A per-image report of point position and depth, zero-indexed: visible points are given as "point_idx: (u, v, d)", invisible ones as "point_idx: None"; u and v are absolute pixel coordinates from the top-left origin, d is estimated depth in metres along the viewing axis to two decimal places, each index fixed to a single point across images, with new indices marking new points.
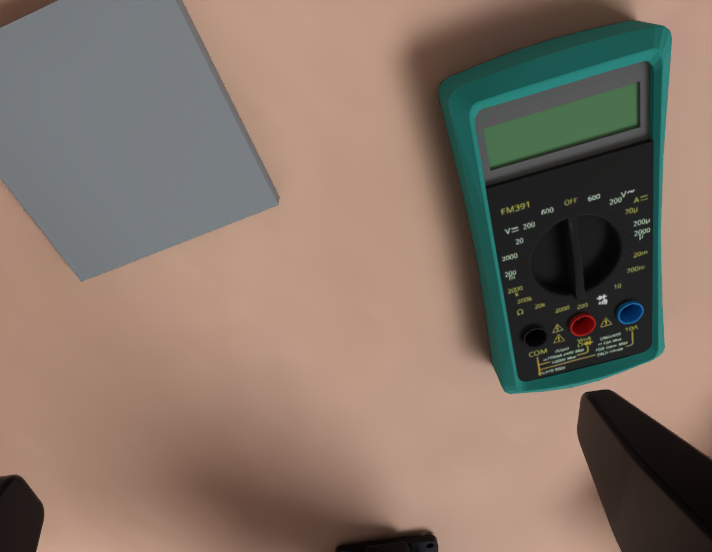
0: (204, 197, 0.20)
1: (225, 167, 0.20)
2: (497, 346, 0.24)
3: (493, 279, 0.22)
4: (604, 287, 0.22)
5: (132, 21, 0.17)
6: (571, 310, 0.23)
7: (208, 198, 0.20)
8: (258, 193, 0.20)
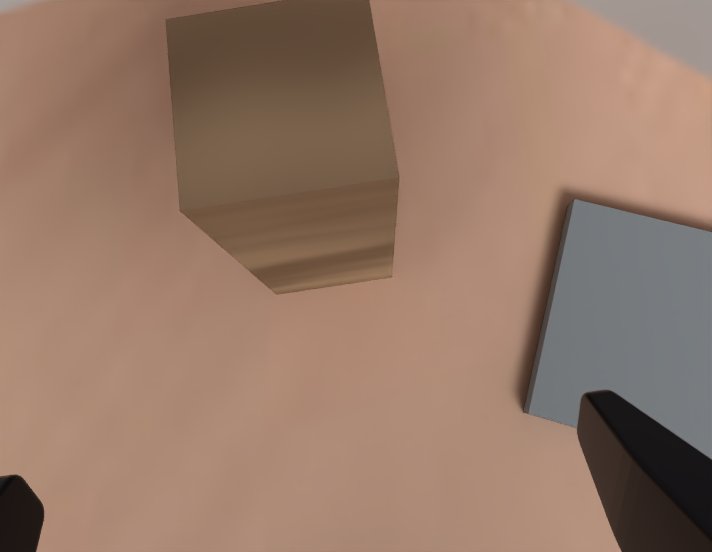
0: (708, 426, 0.20)
1: None
2: None
3: None
4: None
5: None
6: None
7: (711, 430, 0.20)
8: None
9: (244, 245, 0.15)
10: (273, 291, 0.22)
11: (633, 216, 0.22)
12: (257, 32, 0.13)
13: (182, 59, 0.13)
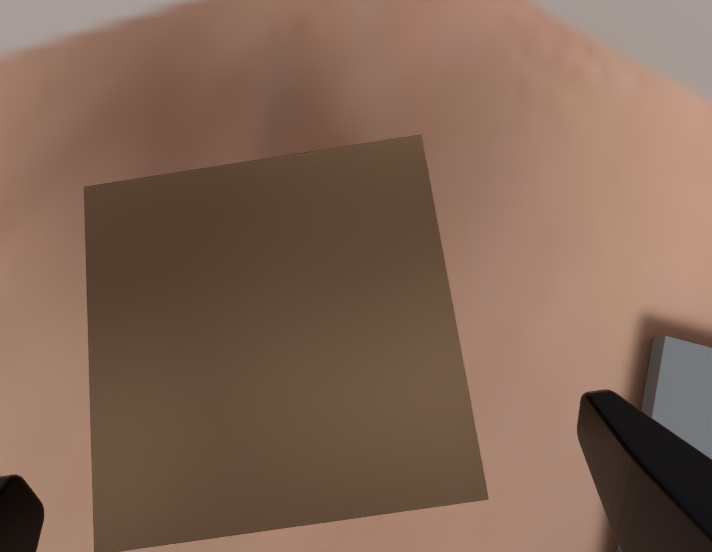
0: None
1: None
2: None
3: None
4: None
5: None
6: None
7: None
8: None
9: None
10: None
11: None
12: (237, 213, 0.08)
13: (109, 260, 0.07)
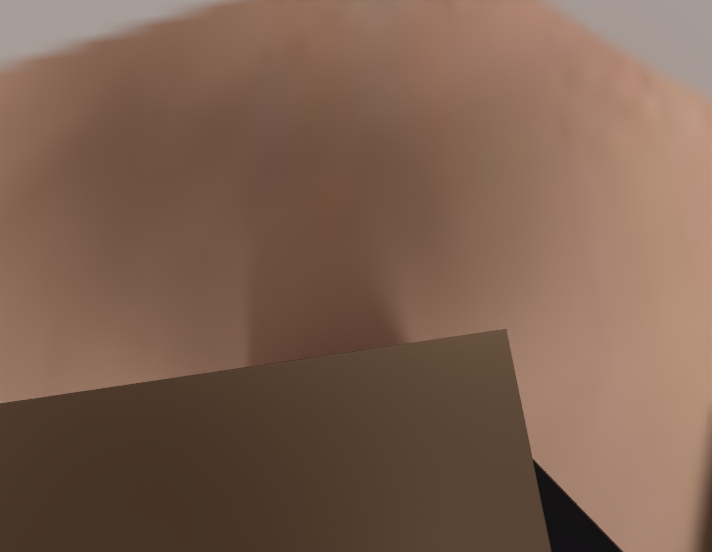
0: None
1: None
2: None
3: None
4: None
5: None
6: None
7: None
8: None
9: None
10: None
11: None
12: (180, 473, 0.04)
13: None
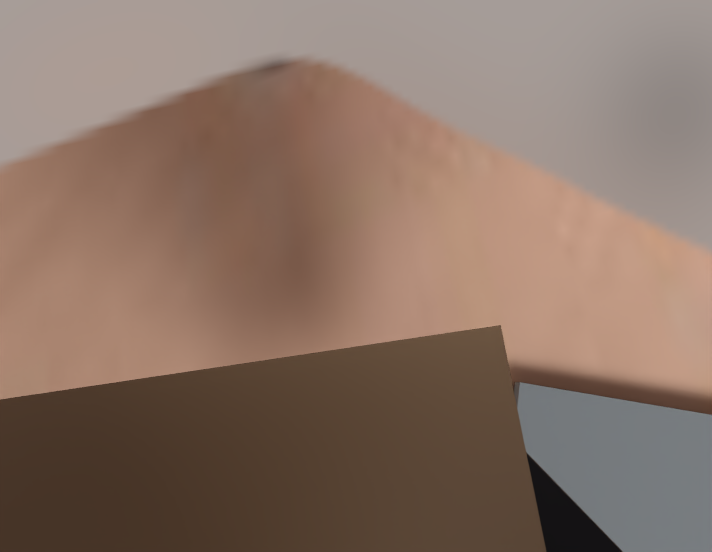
0: None
1: None
2: None
3: None
4: None
5: None
6: None
7: None
8: None
9: None
10: None
11: (583, 397, 0.20)
12: (176, 469, 0.04)
13: None
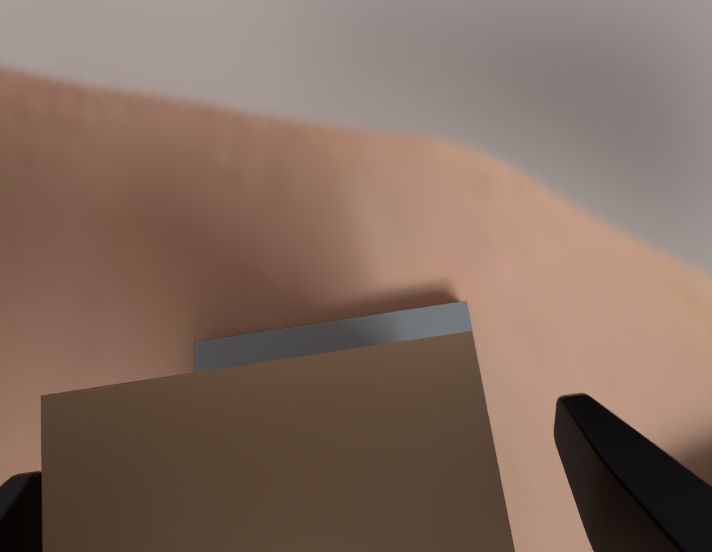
0: None
1: None
2: None
3: None
4: None
5: None
6: None
7: None
8: None
9: None
10: None
11: (266, 335, 0.17)
12: (236, 435, 0.06)
13: (71, 499, 0.06)
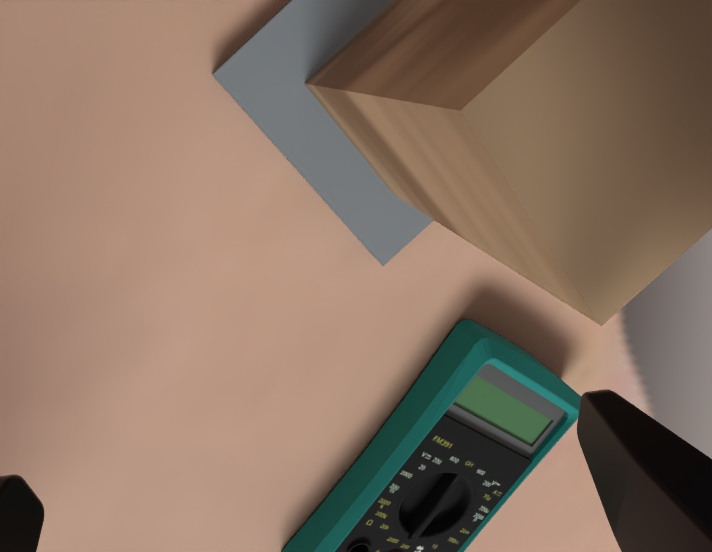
0: (371, 195, 0.19)
1: (407, 207, 0.20)
2: (323, 540, 0.23)
3: (380, 482, 0.23)
4: (427, 542, 0.25)
5: None
6: (396, 545, 0.24)
7: (371, 200, 0.19)
8: (389, 244, 0.20)
9: (399, 121, 0.11)
10: (309, 84, 0.17)
11: None
12: None
13: None
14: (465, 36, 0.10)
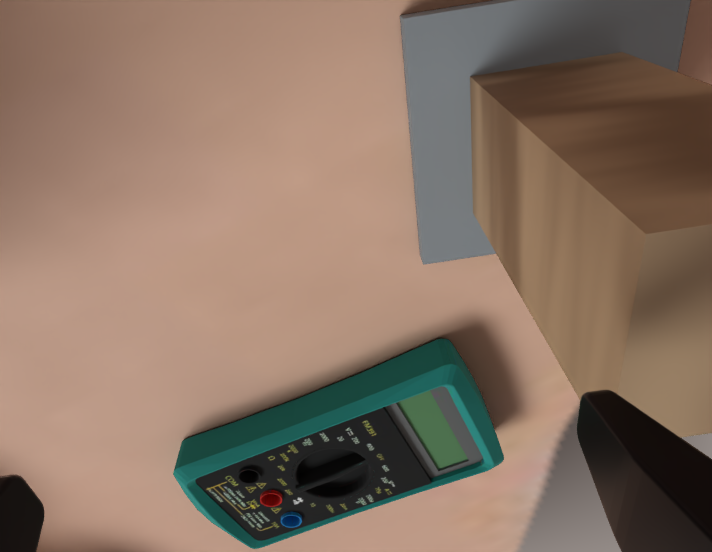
0: (455, 203, 0.20)
1: (476, 230, 0.20)
2: (225, 450, 0.25)
3: (298, 432, 0.24)
4: (309, 498, 0.27)
5: None
6: (282, 487, 0.26)
7: (452, 206, 0.20)
8: (440, 251, 0.21)
9: (559, 185, 0.11)
10: (475, 82, 0.17)
11: (676, 56, 0.17)
12: None
13: None
14: (665, 159, 0.10)
